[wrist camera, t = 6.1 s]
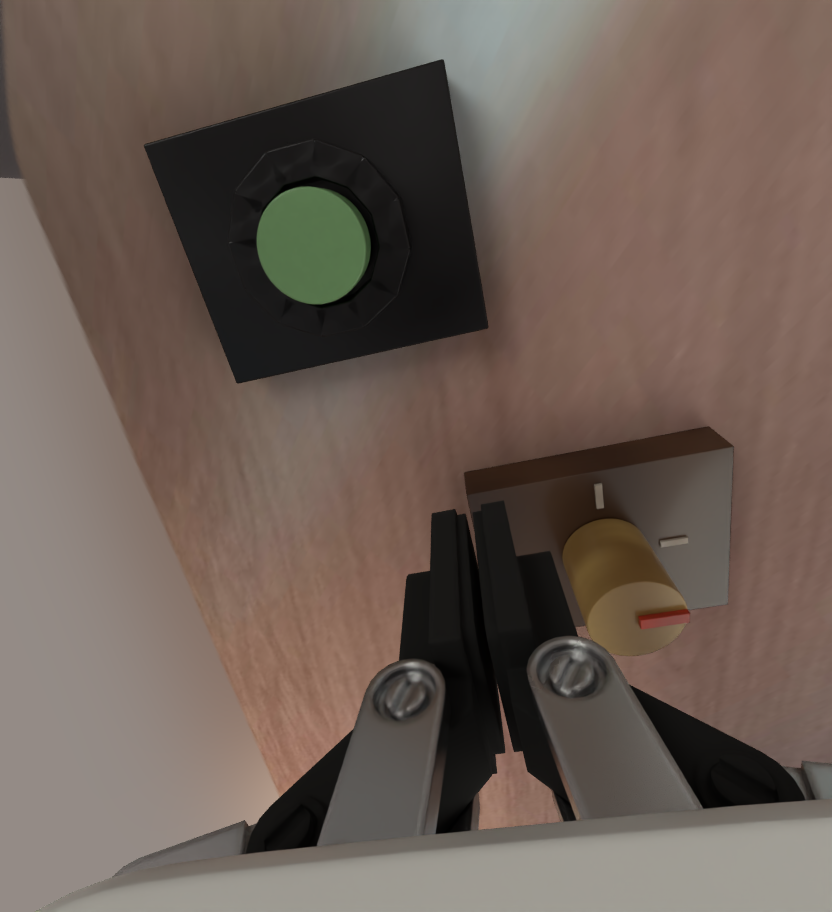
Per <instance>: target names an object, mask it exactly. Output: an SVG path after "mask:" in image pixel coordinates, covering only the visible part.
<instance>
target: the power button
mask: <svg viewBox="0 0 832 912" xmlns="http://www.w3.org/2000/svg"><path fill="white" fill-rule="evenodd" d="M257 250H258V255H259V259H260V262H261V265H262V267H263V269H264V271H265V273H266V275H267V276H268V278H269V279H270V281H271V282H272V283H273V284H274V285H275V286H276V287H277V288H278V289H279V290H280V291H281V292H282V293H284V294H285V295H287V296H288V297H290V298H292V299H294V300H297V301H299V302H303V303H307V304H326V303H330V302H333V301H336V300H338V299H340V298H342V297H343V296H345V295H346V294H347V293H348V292H349V291H351V290H352V288H353V287H354V286H355V285H356V284H357V283H358V282H359V281H360V279H361V278H362V276H363V275H364V273H365V271H366V269H367V266H368V263H369V259H370V254H371V240H370V235H369V231H368V227H367V225H366V222H365V220H364V218H363V216H362V215H361V213H360V212H359V210H358V209H357V208H356V206H355V205H354V204H353V203H352V202H351V201H349V200H348V199H347V198H345V197H344V196H342V195H341V194H339V193H337V192H335V191H332V190H329V189H325V188H318V187H310V186H305V187H297V188H292V189H290V190H287V191H285V192H283V193H281V194H280V195H278V196H277V197H276V198H274V199H273V200H272V201H271V202H270V204H269V205H268V206H267V208H266V209H265V211H264V213H263V214H262V216H261V219H260V222H259V226H258V230H257Z"/></svg>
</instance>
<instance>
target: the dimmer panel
mask: <svg viewBox="0 0 832 912" xmlns="http://www.w3.org/2000/svg"><path fill="white" fill-rule="evenodd" d="M733 453H734V446H733V445H731V444H730V443H729V442H728V441H727V440H725V439H724V438H723V437H722V436H720V435H719V434H718V433H717V432H715V431H714V430H713V429H712V428H710V427H704V428H698V429H693V430H688V431H682V432H677V433H672V434H666V435H661V436H656V437H651V438H645V439H640V440H635V441H629V442H624V443H619V444H613V445H608V446H603V447H598V448H592V449H587V450H582V451H576V452H571V453H566V454H560V455H555V456H550V457H544V458H539V459H534V460H529V461H523V462H518V463H513V464H507V465H502V466H497V467H491V468H486V469H481V470H475V471H470V472H465V473H464V477H465V486H466V494H467V499H468V504H469V508H470V513H471V518H472V522H473V512H477V511H481V504H486V503H491V502H497V501H502V500H504V503H505V507H506V512H507V516H508V521H509V525H510V530H511V535H512V539H513V544H514V548H515V553H516V556H521V555H527V554H533V553H539V552H545V551H550V552H551V554H552V557H553V560H554V563H555V566H556V570H557V573H558V576H559V579H560V582H561V585H562V588H563V591H564V594H565V597H566V601H567V604H568V607H569V610H570V613H571V616H572V619H573V622H574V625H575V627H579V626H586V625H585V622H584V619H583V617H582V614H581V611H580V608H579V606H578V603H577V600H576V598H575V595H574V592H573V589H572V587H571V584H570V581H569V578H568V576H567V573H566V570H565V568H564V565H563V559H562V555H563V550H564V546H565V544H566V542H567V541H568V539H569V538H570V536H571V535H572V534H573V533H574V532H575V531H576V530H578V529H579V528H580V527H582V526H584V525H586V524H588V523H590V522H593V521H596V520H600V519H619V520H623V521H626V522H629V523H631V524H633V525H634V526H636V527H637V528H638V529H639V530H640V531H641V533H642V534H643V535H644V537H645V538H646V540H647V542H648V543H649V545H650V546H651V548H652V549H653V551H654V553H655V554H656V556H657V557H658V559H659V560H660V562H661V563H662V565H663V567H664V568H665V570H666V571H667V573H668V574H669V576H670V578H671V579H672V581H673V582H674V584H675V585H676V587H677V588H678V590H679V592H680V593H681V595H682V596H683V598H684V600H685V602H686V604H687V609H688V610H693V609H700V608H707V607H714V606H720V605H727V604H728V586H729V560H730V533H731V506H732V480H733ZM473 527H474V522H473ZM474 532H475V531H474Z"/></svg>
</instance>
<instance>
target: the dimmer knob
mask: <svg viewBox="0 0 832 912" xmlns="http://www.w3.org/2000/svg"><path fill="white" fill-rule="evenodd" d="M562 559H563V565H564V568H565V570H566V573H567V576H568V578H569V581H570V584H571V587H572V589H573V592H574V595H575V598H576V600H577V603H578V606H579V608H580V611H581V614H582V617H583V619H584V622H585V625H586V628H587V630H588V633H589V635H590V637H591V639H592V640H593V641H595V642H596V643H598V644H599V645H601V646H602V647H604V648H605V649H606V650H607V651H608V652H609V653H612V654H616V655H621V656H639V655H644V654H648V653H652V652H654V651H657V650H659V649H661V648H663V647H665V646H667V645H668V644H670V643H671V642H672V641H673V640H674V639H675V638H677V637H678V635H679V634H680V633H681V632H682V630H683V628H684V626H685V624H686V623H690V613H689V611H688V609H687V604H686V602H685V600H684V598H683V596H682V595H681V593H680V592H679V590H678V588H677V587H676V585H675V584H674V582H673V581H672V579H671V578H670V576H669V574H668V573H667V571H666V570H665V568H664V567H663V565H662V563H661V562H660V560H659V559H658V557H657V556H656V554H655V553H654V551H653V549H652V548H651V546H650V545H649V543H648V542H647V540H646V538H645V537H644V535H643V534H642V533H641V531H640V530H639V529H638V528H637V527H636V526H634V525H633V524H631V523H629V522H626V521H623V520H619V519H600V520H596V521H593V522H590V523H588V524H586V525H584V526H582V527H580V528H579V529H578V530H576V531H575V532H574V533H573V534H572V535H571V536H570V538H569V539H568V541H567V542H566V544H565V546H564V550H563V555H562Z"/></svg>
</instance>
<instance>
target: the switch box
mask: <svg viewBox="0 0 832 912" xmlns="http://www.w3.org/2000/svg"><path fill="white" fill-rule="evenodd" d="M144 147H145V150H146V152H147V155H148V158H149V160H150V163H151V165H152V168H153V170H154V173H155V175H156V178H157V181H158V183H159V186H160V188H161V191H162V193H163V196H164V198H165V201H166V204H167V206H168V209H169V211H170V214H171V216H172V219H173V221H174V224H175V227H176V229H177V232H178V234H179V237H180V239H181V242H182V244H183V247H184V250H185V252H186V255H187V257H188V260H189V262H190V265H191V267H192V270H193V273H194V275H195V278H196V280H197V283H198V285H199V288H200V291H201V293H202V296H203V298H204V301H205V303H206V306H207V308H208V311H209V314H210V316H211V319H212V321H213V324H214V326H215V329H216V331H217V334H218V337H219V339H220V342H221V344H222V347H223V349H224V352H225V354H226V357H227V360H228V362H229V365H230V367H231V370H232V372H233V375H234V377H235V380H236V383H243V382H248V381H252V380H257V379H261V378H266V377H270V376H275V375H279V374H284V373H288V372H293V371H297V370H302V369H306V368H311V367H315V366H320V365H325V364H329V363H334V362H338V361H343V360H347V359H352V358H356V357H361V356H365V355H370V354H374V353H379V352H383V351H388V350H392V349H397V348H402V347H406V346H411V345H415V344H420V343H424V342H429V341H433V340H438V339H442V338H447V337H451V336H456V335H460V334H465V333H469V332H474V331H479V330H483V329H487V328H488V321H487V315H486V309H485V303H484V297H483V291H482V285H481V279H480V273H479V267H478V261H477V255H476V249H475V243H474V237H473V231H472V225H471V219H470V213H469V207H468V201H467V195H466V189H465V183H464V177H463V171H462V165H461V159H460V153H459V147H458V141H457V135H456V129H455V123H454V117H453V111H452V105H451V99H450V93H449V87H448V81H447V75H446V69H445V63H444V60H442V59H441V60H438V61H434V62H431V63H427V64H424V65H420V66H417V67H413V68H410V69H406V70H403V71H399V72H396V73H392V74H389V75H385V76H382V77H378V78H375V79H371V80H368V81H364V82H361V83H357V84H354V85H350V86H347V87H343V88H340V89H336V90H333V91H329V92H326V93H322V94H319V95H315V96H312V97H308V98H305V99H301V100H298V101H294V102H291V103H287V104H284V105H280V106H277V107H273V108H270V109H266V110H263V111H259V112H256V113H252V114H249V115H245V116H242V117H238V118H235V119H231V120H228V121H224V122H221V123H217V124H214V125H210V126H207V127H203V128H200V129H196V130H193V131H189V132H186V133H182V134H179V135H175V136H172V137H168V138H165V139H161V140H158V141H154V142H151V143H147V144H145V145H144ZM305 186H310V187H318V188H325V189H329V190H332V191H335V192H337V193H339V194H341V195H342V196H344V197H345V198H347V199H348V200H349V201H351V202H352V203H353V204H354V205H355V206H356V208H357V209H358V210H359V212H360V213H361V215H362V216H363V218H364V220H365V222H366V225H367V227H368V231H369V235H370V240H371V254H370V259H369V263H368V266H367V269H366V271H365V273H364V275H363V276H362V278H361V279H360V281H359V282H358V283H357V284H356V285H355V286H354V287H353V288H352V290H351V291H349V292H348V293H347V294H346V295H345V296H343V297H342V298H340V299H338V300H336V301H333V302H330V303H326V304H307V303H303V302H299V301H297V300H294V299H292V298H290V297H288V296H287V295H285V294H284V293H282V292H281V291H280V290H279V289H278V288H277V287H276V286H275V285H274V284H273V283H272V282H271V281H270V279H269V278H268V276H267V275H266V273H265V271H264V269H263V267H262V265H261V262H260V259H259V255H258V250H257V230H258V226H259V222H260V219H261V216H262V214H263V213H264V211H265V209H266V208H267V206H268V205H269V204H270V202H271V201H272V200H273V199H274V198H276V197H277V196H278V195H280V194H281V193H283V192H285V191H287V190H290V189H292V188H297V187H305Z"/></svg>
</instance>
